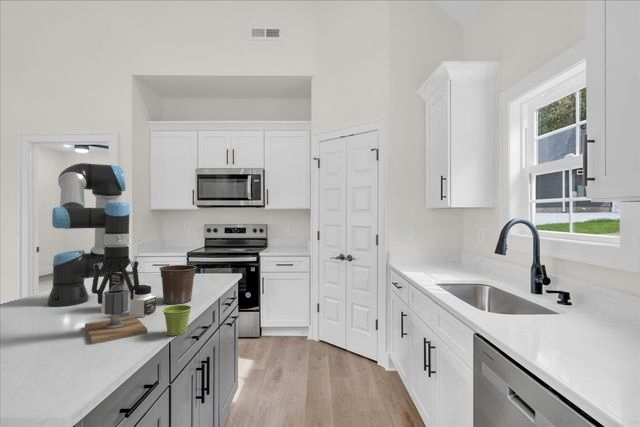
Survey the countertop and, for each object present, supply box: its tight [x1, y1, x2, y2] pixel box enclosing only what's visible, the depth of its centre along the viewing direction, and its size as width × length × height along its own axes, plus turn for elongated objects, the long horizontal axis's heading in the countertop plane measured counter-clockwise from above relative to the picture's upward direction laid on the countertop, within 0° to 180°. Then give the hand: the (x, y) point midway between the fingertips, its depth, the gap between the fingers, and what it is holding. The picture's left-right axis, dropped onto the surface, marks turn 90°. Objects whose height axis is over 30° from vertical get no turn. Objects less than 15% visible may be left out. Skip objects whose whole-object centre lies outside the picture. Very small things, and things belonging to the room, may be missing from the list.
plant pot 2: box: [161, 304, 193, 337], centre depth 118 cm, size 9×9×9 cm
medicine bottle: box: [128, 284, 157, 318], centre depth 139 cm, size 7×7×12 cm
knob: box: [103, 290, 129, 316], centre depth 120 cm, size 7×8×7 cm
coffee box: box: [108, 270, 135, 297], centre depth 147 cm, size 9×6×16 cm
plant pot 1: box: [159, 264, 198, 305], centre depth 161 cm, size 16×16×16 cm
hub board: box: [84, 313, 148, 345], centre depth 120 cm, size 20×16×10 cm
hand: (115, 310), depth 120 cm, fingers closed on knob, 7 cm apart
